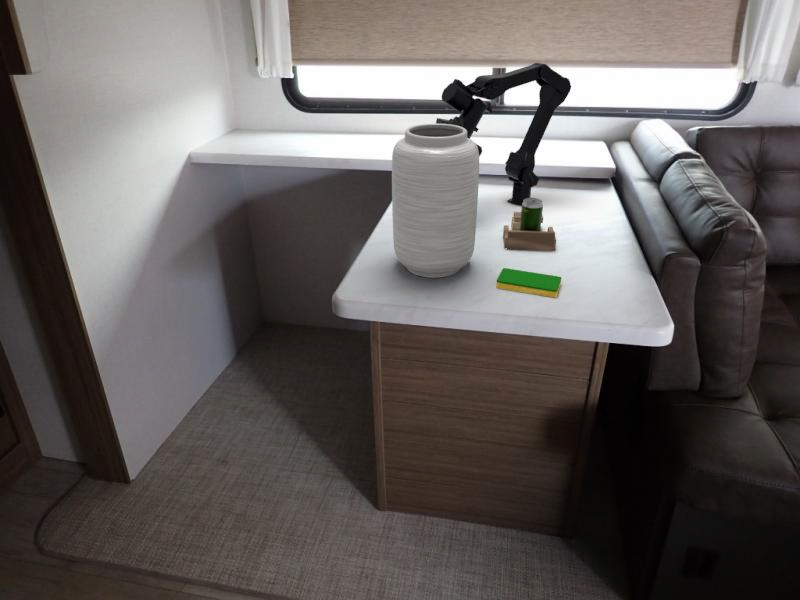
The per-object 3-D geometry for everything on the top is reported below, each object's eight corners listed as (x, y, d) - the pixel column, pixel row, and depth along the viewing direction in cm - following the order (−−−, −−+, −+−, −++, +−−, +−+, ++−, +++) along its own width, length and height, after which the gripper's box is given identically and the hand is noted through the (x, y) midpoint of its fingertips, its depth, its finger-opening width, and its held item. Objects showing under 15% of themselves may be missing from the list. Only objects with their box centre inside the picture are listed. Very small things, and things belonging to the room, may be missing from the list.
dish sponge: (502, 276, 140) (503, 267, 139) (560, 285, 135) (561, 276, 134) (495, 289, 134) (496, 280, 133) (555, 299, 130) (557, 290, 128)
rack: (503, 235, 161) (504, 218, 158) (551, 236, 160) (553, 220, 157) (504, 249, 153) (506, 231, 150) (555, 251, 151) (557, 233, 149)
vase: (382, 256, 150) (378, 124, 134) (452, 244, 156) (457, 117, 140) (411, 290, 133) (410, 145, 117) (488, 275, 140) (498, 135, 123)
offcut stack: (511, 226, 167) (512, 211, 165) (539, 226, 166) (541, 212, 164) (512, 232, 162) (513, 217, 160) (541, 233, 161) (543, 218, 159)
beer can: (530, 249, 153) (535, 206, 147) (514, 243, 156) (518, 201, 150) (542, 243, 156) (547, 200, 150) (526, 237, 159) (530, 196, 153)
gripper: (432, 100, 165) (406, 149, 168) (467, 111, 151) (438, 165, 154) (458, 118, 172) (433, 165, 175) (495, 131, 157) (466, 182, 160)
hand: (441, 168), depth 166 cm, fingers open, 9 cm apart
